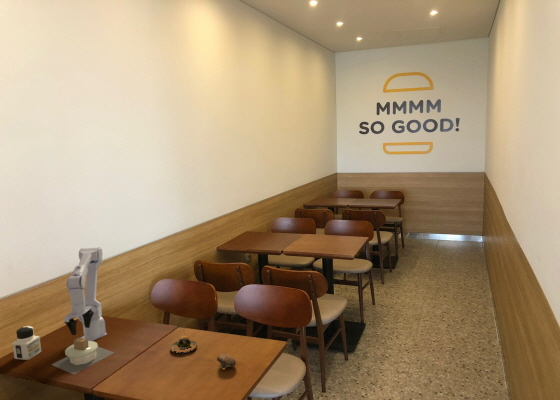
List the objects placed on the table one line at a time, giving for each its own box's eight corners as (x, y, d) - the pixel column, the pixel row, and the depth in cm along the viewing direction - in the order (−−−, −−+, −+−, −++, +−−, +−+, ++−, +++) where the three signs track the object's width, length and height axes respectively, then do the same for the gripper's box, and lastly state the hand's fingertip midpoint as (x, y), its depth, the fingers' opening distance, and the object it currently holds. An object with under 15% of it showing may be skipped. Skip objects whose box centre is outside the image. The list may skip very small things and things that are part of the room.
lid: (80, 341, 197) (79, 331, 196) (104, 344, 193) (103, 334, 192) (58, 355, 184) (56, 345, 184) (83, 359, 181) (82, 348, 180)
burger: (165, 353, 193) (163, 338, 191) (180, 341, 203) (179, 326, 202) (187, 358, 188) (186, 342, 187) (202, 345, 199) (201, 330, 198)
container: (29, 360, 190) (25, 332, 188) (14, 359, 191) (10, 331, 189) (41, 351, 197) (38, 324, 195) (27, 350, 199) (23, 323, 197)
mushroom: (217, 368, 173) (222, 352, 175) (211, 366, 180) (216, 351, 182) (235, 374, 175) (239, 358, 177) (228, 372, 182) (233, 357, 184)
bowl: (86, 350, 196) (85, 342, 195) (100, 356, 191) (99, 347, 190) (66, 360, 188) (65, 352, 187) (80, 366, 182) (79, 358, 182)
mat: (92, 345, 202) (92, 344, 202) (114, 353, 193) (114, 352, 193) (51, 365, 185) (51, 364, 185) (73, 375, 177) (73, 374, 177)
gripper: (84, 295, 200) (86, 323, 202) (57, 306, 187) (60, 336, 188) (95, 297, 197) (98, 325, 199) (69, 308, 184) (72, 338, 186)
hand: (80, 331), depth 194 cm, fingers open, 7 cm apart
